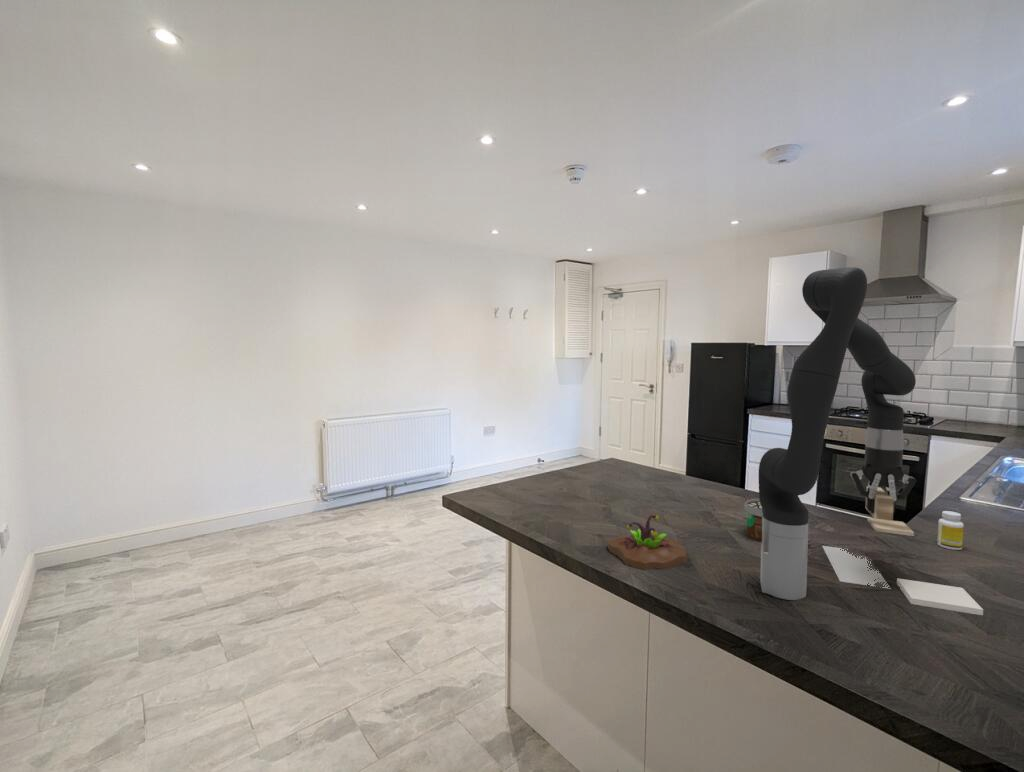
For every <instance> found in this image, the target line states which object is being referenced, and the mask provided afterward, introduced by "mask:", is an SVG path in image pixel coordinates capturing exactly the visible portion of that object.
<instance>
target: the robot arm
mask: <svg viewBox="0 0 1024 772" xmlns="http://www.w3.org/2000/svg"><path fill="white" fill-rule="evenodd" d="M867 290H868V279H867V275H866V272H864V270H863V269H861V268H859V267H841V268H839V267H837V268H831V269H829V268H827V269H820V270H816V271H813V272H811V273H810V274H808V275H807V277H806V278H805V280H804V281H803V284H802V293H801V294H802V298H803V301H804V302H805V304H806V306H808V308H809V309H810V311H812V312H813V314H815V315H816V316H817V317H818V318H819V319H820V320H821V321H822V322H823V323H824V325H823V328H822V329H821V331H820V332H819V333H818V335H817V336H816V337H815V338H814V339H813V341H812V342H810V343H809V345H808V346H807V347H805V349H804V350H803V351H802V352H801V353H800V354H799V356H798V357H797V358H796V359H795V362H794V363H793V365H792V370H791V373H790V377H789V380H788V385H787V389H786V390H787V391H786V397H787V404H788V409H789V413H790V420H791V433H790V438H789V442H788V446H787V448H782V447H774V448H769V449H768V450H767V451H766V452H764V454H763V455H762V457H761V459H760V461H759V465H758V499H759V500H760V504H761V506H762V510H763V525H762V542H761V545H760V574H759V575H760V576H759V578H760V579H759V582H760V583H759V584H760V587H761V592H762V593H763V594H766V595H767V594H768V595H771V596H772V597H775V598H778V599H783V600H787V601H798V600H802V599H804V598H805V597H806V596H807V590H808V589H807V588H808V586H807V581H808V580H807V579H808V549H809V547H808V542H809V511H808V508H807V507H806V506H805V505H804V503H803V502H802V501H801V499H800V497H799V496H802V495H805V494H807V493H809V492H810V491H811V490H812V489H813V488H814V487H815V484H816V483H817V480H818V477H819V473H820V467H821V461H822V455H823V445H824V440H825V434H826V430H827V427H828V422H829V417H830V413H831V409H832V405H833V401H834V397H835V395H836V392H837V389H838V384H839V379H840V376H841V372H842V366H843V363H844V361H845V356H846V353H847V350H848V351H849V354H851V356H852V357H853V359H854V361H855V362H856V364H857V365H858V368H860V369H861V370H863V371H864V372H863V374H862V376H861V380H860V381H861V388H862V391H863V395H864V399H865V403H866V407H867V411H868V416H867V429H866V434H865V440H864V445H865V446H864V462H863V463H864V464H863V466H862V468H861V469H860V470H857V471H854V470H851V471H850V472H849V475H850V476H851V479H852V482H853V483H854V486H855V488H856V490H857V492H858V493H859V495H861V496H864V497H865V509H866V508H867V509H866V511H867V512H868V511H869V512H870V513H874V507H875V499H874V497H875V493H876V491H877V488H878V487H885V489H886V493H887V494H888V495H889V496H890V497H892V498H893V499H894V507H893V514H895V513H896V503H897V501H901V500H903V501H904V500H906V498H907V497H908V495H909V493H910V492H911V491H912V489H913V487H914V486H915V485H916V483H917V479H916V478H915V477H913V476H911V475H910V476H909V475H907V474H905V472H904V470H903V459H904V458H903V457H904V443H905V441H904V439H905V438H904V419H905V417H904V415H905V414H904V413H905V411H904V408H903V407H902V406H900V405H898V404H893V403H891V402H889V401H887V400H886V397H885V396H886V395H887V396H907V395H908V394H910V393H911V392H912V391H914V390H915V386H916V381H917V380H916V376H915V373H914V372H913V370H912V369H911V367H910V366H909V365H908V364H907V363H905V362H904V361H903V360H901V359H900V358H899V357H898V356H897V355H896V354H894V353H893V352H891V350H890V348H889V347H888V345H887V342H886V341H885V340H884V338H883V337H882V335H881V334H880V333H879V332H878V331H877V329H875V328H874V327H872V326H871V325H869V324H868V323H866V322H864V321H863V320H862V319H860V318H859V315H860V313H861V310H862V307H863V305H864V301H865V299H866V295H867V294H866V293H867ZM863 475H864V477H865V478H866V479H867V481H868V483H867V486H868V489H867V488H866V489H867V491H866V489H865V488H864V485H863V484H862V481H861V480H862V479H863ZM901 479H902V483H903V484H902V485H901V486H900V488H899V490H898V492H897V491H896V485H897V483H899V482H900V481H901ZM869 512H868V513H869ZM870 513H869V514H870Z"/></svg>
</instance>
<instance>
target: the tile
mask: <svg viewBox="0 0 1024 772" xmlns="http://www.w3.org/2000/svg"><path fill="white" fill-rule="evenodd" d="M896 585H897V586H898V588H899V587H900V588H899V589H900V590H901V592H902V593H903V594H904V596H905V597H906V599H907V600H908V602H909V603H910V604H911V605H916V606H921V607H926V608H927V607H929V608H934V609H940V610H946V611H953V612H958V613H965V614H972V615H978V616H984V609H983V608H982V606H980V605H979V603H977V601H975V599H974V598H973V597H972V596H971V595H970V594H969V593H968V592H967V591H966V590H965V589H964V588H963V587H961V586H960V587H958V586H953V585H946V584H945V585H944V584H940V583H939V584H938V583H932V582H925V581H919V580H911V579H905V578H896Z"/></svg>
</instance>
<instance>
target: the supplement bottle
mask: <svg viewBox="0 0 1024 772" xmlns="http://www.w3.org/2000/svg"><path fill="white" fill-rule="evenodd" d="M941 517H942V518H939V519H938V523H937V524H938V525H937V537H936V539H937V541H936V543H937V545H938V546H939V547H941V548H945V549H948V550H953V551H956V550H957V551H960V550H963V545H964V528H965V525H964V523H963V522H962V521H961V520H962V514H961V513H959V512H956V511H950V510H943V511H942V513H941Z"/></svg>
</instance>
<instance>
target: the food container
mask: <svg viewBox="0 0 1024 772" xmlns="http://www.w3.org/2000/svg"><path fill="white" fill-rule="evenodd" d="M743 511H745V513H746V514H745V515H746V529H747V530H746V531H747V532H746V533H747V536H748V538H750V537H751V538H750V539H752V540H754V539H755V541H758V542H760V541H762V525H763V510H762V506H761V504H760V500H759V498H752V499H751V498H750V499H748V500H746V501H745V503H744V505H743Z"/></svg>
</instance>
